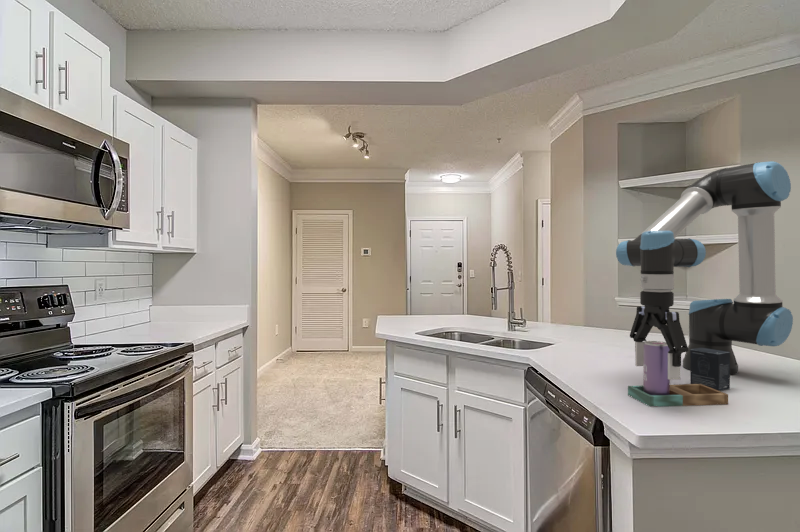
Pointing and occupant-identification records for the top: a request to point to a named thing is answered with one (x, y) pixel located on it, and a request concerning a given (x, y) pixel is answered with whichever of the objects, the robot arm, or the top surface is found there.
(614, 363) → the top surface
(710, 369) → the box
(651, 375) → the beverage can
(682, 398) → the holder board
